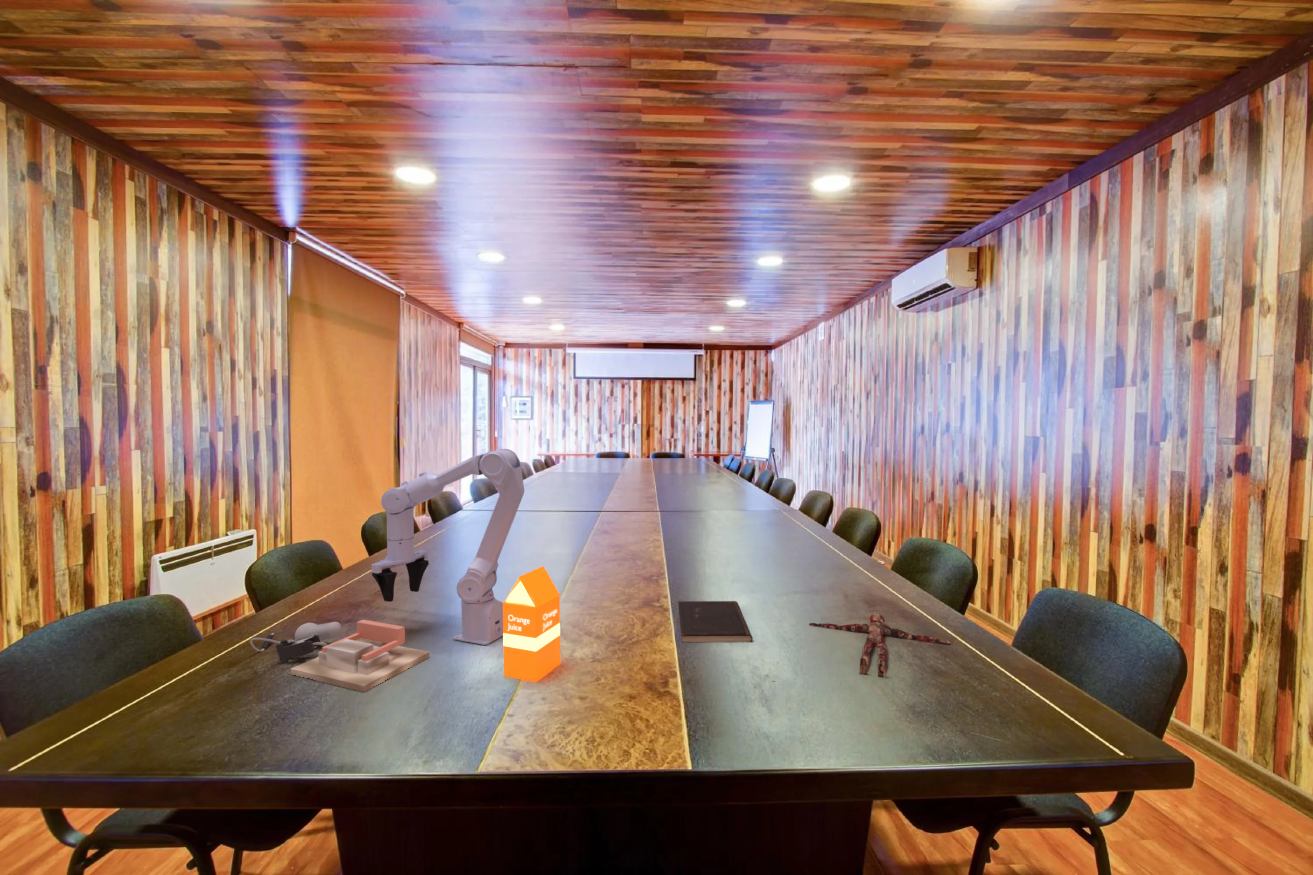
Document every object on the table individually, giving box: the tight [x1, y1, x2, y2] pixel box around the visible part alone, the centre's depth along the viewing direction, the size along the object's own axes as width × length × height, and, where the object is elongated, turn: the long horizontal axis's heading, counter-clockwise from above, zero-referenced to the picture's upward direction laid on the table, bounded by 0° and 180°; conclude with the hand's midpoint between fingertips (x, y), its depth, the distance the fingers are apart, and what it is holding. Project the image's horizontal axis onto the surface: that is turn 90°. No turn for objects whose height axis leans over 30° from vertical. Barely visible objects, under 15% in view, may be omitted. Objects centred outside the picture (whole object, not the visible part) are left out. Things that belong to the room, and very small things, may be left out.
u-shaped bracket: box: [321, 619, 406, 661], centre depth 112 cm, size 10×12×3 cm
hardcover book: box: [677, 600, 753, 643], centre depth 134 cm, size 16×23×2 cm
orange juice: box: [502, 565, 561, 683], centre depth 109 cm, size 8×9×20 cm
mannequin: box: [808, 613, 951, 679], centre depth 122 cm, size 26×29×4 cm
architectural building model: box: [290, 638, 431, 693], centre depth 112 cm, size 16×20×5 cm
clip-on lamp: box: [249, 621, 342, 664], centre depth 119 cm, size 12×6×18 cm
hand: (401, 595), depth 127 cm, fingers open, 7 cm apart
